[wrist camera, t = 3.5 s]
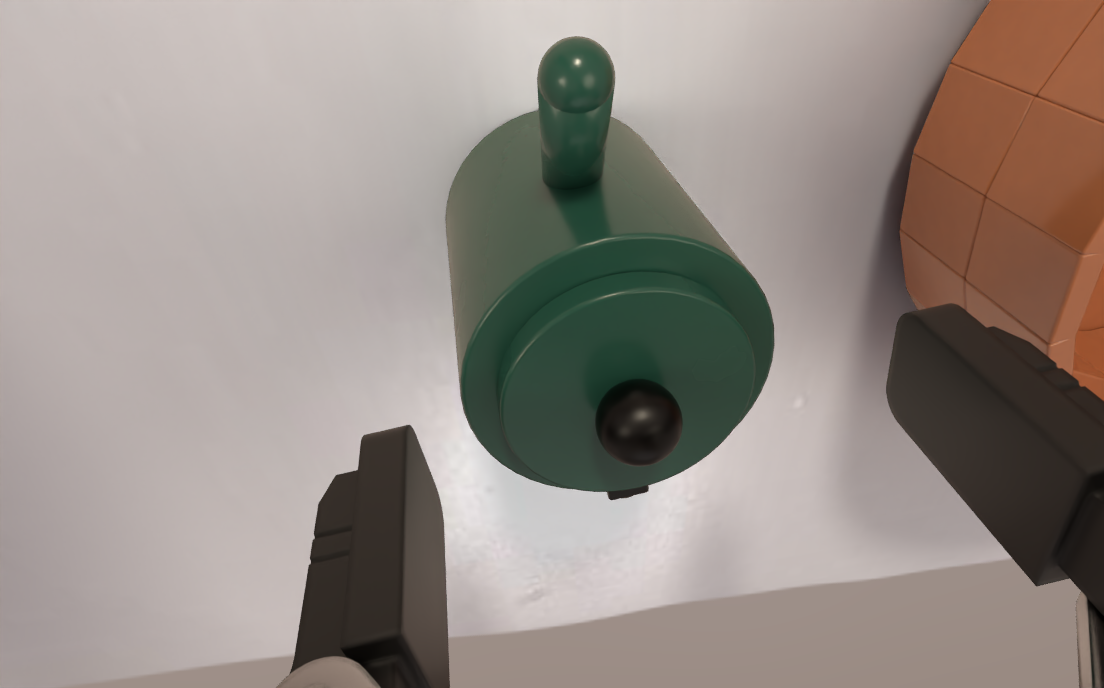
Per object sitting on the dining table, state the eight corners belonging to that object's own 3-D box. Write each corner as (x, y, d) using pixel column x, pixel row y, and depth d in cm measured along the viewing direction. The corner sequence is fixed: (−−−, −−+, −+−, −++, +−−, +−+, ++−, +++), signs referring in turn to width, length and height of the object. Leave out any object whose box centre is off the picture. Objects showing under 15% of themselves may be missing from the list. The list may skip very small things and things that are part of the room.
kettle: (674, 337, 20) (804, 580, 13) (486, 379, 20) (523, 648, 13) (653, -50, 14) (872, 40, 7) (383, 4, 14) (355, 147, 7)
